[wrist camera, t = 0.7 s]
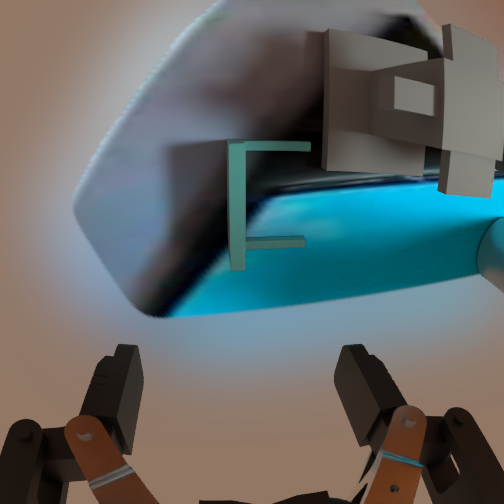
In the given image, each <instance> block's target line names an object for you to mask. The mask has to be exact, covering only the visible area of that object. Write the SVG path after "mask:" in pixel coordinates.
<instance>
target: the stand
mask: <svg viewBox="0 0 504 504" xmlns="http://www.w3.org/2000/svg"><path fill="white" fill-rule="evenodd" d="M442 33H443V48H444V58H439V59H432V60H427V51H424V50H420V49H417V48H414V47H410V46H407V45H403V44H400V43H396V42H392V41H388V40H384V39H380V38H375V37H371V36H366V35H361V34H356V33H351V32H345V31H340V30H334V29H328V30H327V31H325V32H324V109H323V143H322V166H321V168H323V169H325V170H327V171H352V172H371V173H387V174H401V175H413V176H423V168H424V158H425V146H431V147H435V148H439V149H442V154H441V165H440V174H439V182H438V190H437V191H439V192H441V193H444V194H446V195H459V196H471V197H482V198H491V192H492V185H493V178H494V171H495V162H496V160H499V161H502V158H503V147H504V82H502V81H500V80H499V71H498V54H497V46H496V45H494V44H492V43H491V42H489V41H487V40H485V39H483V38H481V37H479V36H477V35H475V34H473V33H470V32H468V31H466V30H464V29H462V28H460V27H457V26H455V25H452V24H447V25H443V26H442Z"/></svg>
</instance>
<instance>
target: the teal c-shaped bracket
mask: <svg viewBox="0 0 504 504" xmlns="http://www.w3.org/2000/svg"><path fill="white" fill-rule="evenodd" d="M251 150H270V151H311V142H308V141H267V140H244V141H242V140H240V139H234V140H226V156H227V218H228V250H229V259H230V268H231V271H243V270H246V250H250V249H276V248H302V247H305V246H306V239H305V237H304V236H278V237H248V238H246V151H251Z"/></svg>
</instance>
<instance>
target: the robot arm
mask: <svg viewBox="0 0 504 504" xmlns="http://www.w3.org/2000/svg"><path fill="white" fill-rule="evenodd" d="M477 265H478V270H479V273H480V274H481V275H482V276H483V277H484V278H485V279H487V280H488V281H489V282H491V283H492V284H493V285H494V286H496V287H497V288H498V289H499V290H500V291H502V292H503V293H504V217H503V218H500V219H498V220H496V221H495V222H494V223H493V224H492V225H491V226H490V227H489V229H488V230H487V232H486V233H485V235H484V237H483V239H482V241H481V244H480V247H479V251H478V256H477ZM143 380H144V377H143V370H142V365H141V359H140V354H139V348H138V346H137V345H127V344H118V346H117V348H116V351H115V354H114V356H105V357H104V358H103V359H102V360H101V361H100V362H99V363H98V364H97V366H96V369H95V371H94V374H93V377H92V380H91V384H90V385H89V388H88V391H87V393H86V396H85V399H84V402H83V405H82V408H81V411H80V413H79V416H76V417H74V418H72V419H71V420H70V421H69V422H68V423H67V424H66V426H64V427H59V428H48V429H47V428H46V429H42V428H41V427H40V425H39V424H38V423H37V422H35V421H33V420H29V419H22V420H19V421H17V422H15V423H14V424H13V425H12V426H11V427H10V429H9V431H8V434H7V437H6V440H5V443H4V446H3V449H2V451H1V455H0V504H66V499H67V492H68V486H69V482H72V481H84V480H87V481H88V483H89V487H90V488H91V490H92V492H93V494H94V496H95V497H96V499H97V501H98V502H99V504H159V502H158V501H157V500H156V499H155V497H154V496H153V495H152V494H151V493H150V491H149V490H148V488H147V487H146V486H145V485H144V483H143V482H142V481H141V479H140V478H139V476H138V475H137V474H136V473H135V471H134V470H133V469H132V468H131V467H129V465H128V464H127V463H126V461H125V460H124V458H123V457H122V455H123V454H126V455H131V454H132V448H133V441H134V435H135V429H136V423H137V418H138V412H139V407H140V401H141V396H142V391H143V383H144V381H143ZM334 384H335V387H336V389H337V392H338V394H339V397H340V399H341V402H342V404H343V407H344V409H345V411H346V414H347V416H348V419H349V421H350V424H351V426H352V428H353V431H354V434H355V436H356V439H357V441H358V444H359V446H360V447H361V446H366V445H370V447H371V449H372V450H371V451H370V453H369V455H368V458H367V460H366V463H365V465H364V468H363V470H362V472H361V474H360V477H359V479H358V481H357V483H356V486H355V488H354V489H353V491H352V493H351V494H350V496H349V498H348V499H347V500H342V499H339V498H329V495H328V492H327V491H322V492H316V493H309V494H302V495H297V496H294V497H291V498H288V499H285V500H282V501H279V502H276V503H273V504H413V501H414V498H415V494H416V491H417V488H418V484H419V480H420V476H421V475H422V478H423V480H424V482H425V485H426V487H427V490H428V493H429V495H430V498H431V500H432V503H433V504H504V471H503V469H502V467H501V465H500V463H499V462H498V460H497V458H496V456H495V454H494V453H493V451H492V449H491V447H490V446H489V444H488V442H487V440H486V439H485V437H484V435H483V433H482V432H481V430H480V428H479V427H478V425H477V423H476V422H475V420H474V418H473V417H472V415H471V414H470V413H469V412H468V411H466V410H465V409H463V408H459V407H454V408H451V409H449V410H448V411H447V412H446V413H445V415H444V416H443V417H441V416H425V414H424V413H423V411H421V410H420V409H419V408H417V407H415V406H410V405H408V404H407V403H406V401H405V399H404V397H403V396H402V394H401V392H400V391H399V389H398V387H397V386H396V384H395V382H394V381H393V380H392V377H391V375H390V374H389V373H388V370H387V369H386V368H385V366H384V364H383V362H382V361H380V360H379V359H378V358H377V357H375V356H374V355H369V354H368V352H367V350H366V349H365V347H364V346H363V345H362V344H353V345H344V346H343V347H342V350H341V353H340V356H339V360H338V363H337V366H336V369H335V373H334ZM451 454H452V455H453V457H454V460H455V462H456V463H457V466H458V468H459V472H460V475H459V473H458V471H457V469H456V467H455V465H454V463H453V461H452V459H451V457H450V456H451ZM199 504H250V503H244V502H238V501H232V500H230V501H229V500H228V501H202V500H200V501H199Z"/></svg>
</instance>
